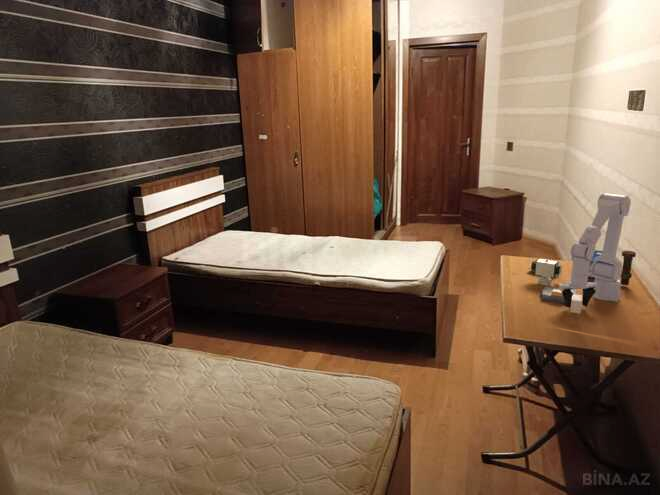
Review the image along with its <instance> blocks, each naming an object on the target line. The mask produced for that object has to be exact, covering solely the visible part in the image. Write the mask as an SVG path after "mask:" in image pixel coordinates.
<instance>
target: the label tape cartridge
mask: <svg viewBox="0 0 660 495" xmlns="http://www.w3.org/2000/svg"><path fill="white" fill-rule="evenodd" d="M602 251H603V250H598V249H597V250H596V249H595V251H594V255H593V257H592V258H591V259H590V264H589V272H588V278H593V279H595V277H594V275H593V274H592V272H591V267H592V265H593V263H594V259H595V258H596V257H598V256H600V255H601V254H602ZM599 253H600V254H599ZM601 262H602V261H601ZM605 263H607V262H605Z"/></svg>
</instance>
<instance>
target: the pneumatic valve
mask: <svg viewBox="0 0 660 495" xmlns="http://www.w3.org/2000/svg"><path fill="white" fill-rule="evenodd" d="M530 267H531V269H530V270H531V271H532V272H533V275H536V276H540V277H538V280H537V282H538V284H539V285H541V286H545V285H546V286H550V285H552V283H553V279H555V278H556V277H557V276H560V275H561V273H562V270H563V269H562V265H560V262H559V261H556V260H550V259H548V258H546V259H543V258H537V259H536V260H535V261H532V263H531V266H530ZM552 278H553V279H552Z"/></svg>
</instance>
